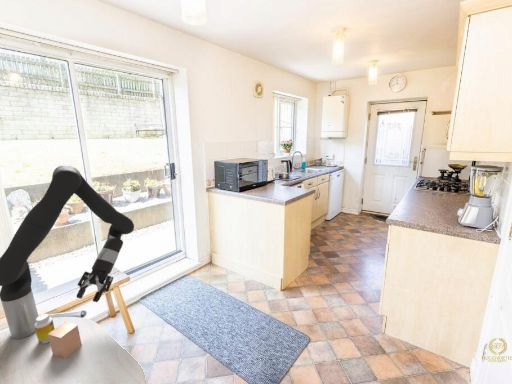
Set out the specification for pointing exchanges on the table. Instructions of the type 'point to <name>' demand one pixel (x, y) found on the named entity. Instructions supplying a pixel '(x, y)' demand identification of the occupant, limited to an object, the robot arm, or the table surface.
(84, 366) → the table surface
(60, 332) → the salmon orange block
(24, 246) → the robot arm
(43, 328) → the supplement bottle
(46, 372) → the table surface
